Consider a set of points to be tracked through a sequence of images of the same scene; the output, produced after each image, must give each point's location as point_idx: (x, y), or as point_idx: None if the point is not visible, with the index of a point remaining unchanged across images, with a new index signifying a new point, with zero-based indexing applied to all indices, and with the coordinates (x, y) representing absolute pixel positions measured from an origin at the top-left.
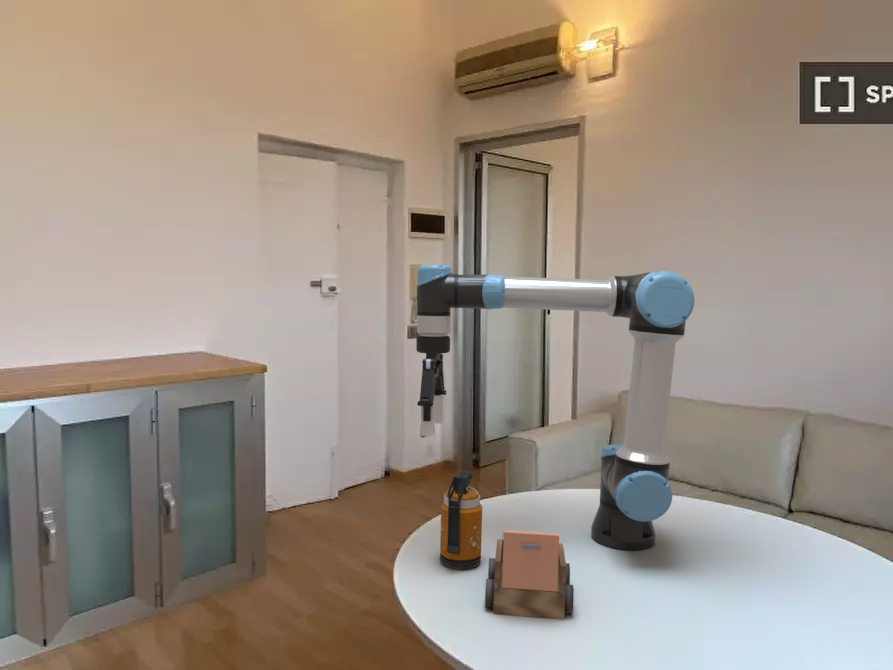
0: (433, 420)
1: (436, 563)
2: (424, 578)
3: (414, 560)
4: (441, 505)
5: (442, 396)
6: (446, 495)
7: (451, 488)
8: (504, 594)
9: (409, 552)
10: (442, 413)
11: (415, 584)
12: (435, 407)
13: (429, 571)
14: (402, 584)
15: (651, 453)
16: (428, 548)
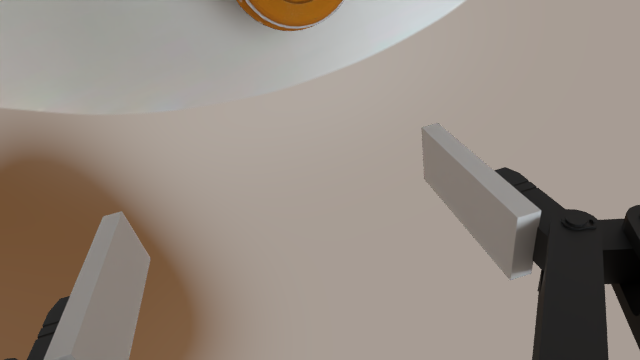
0: (481, 160)
1: None
2: (372, 4)
3: (300, 59)
4: (310, 26)
5: (73, 350)
6: (334, 9)
7: (287, 12)
8: None
9: (268, 85)
10: (104, 251)
11: (400, 10)
12: (122, 310)
13: None
14: (406, 33)
15: None
16: (229, 58)
